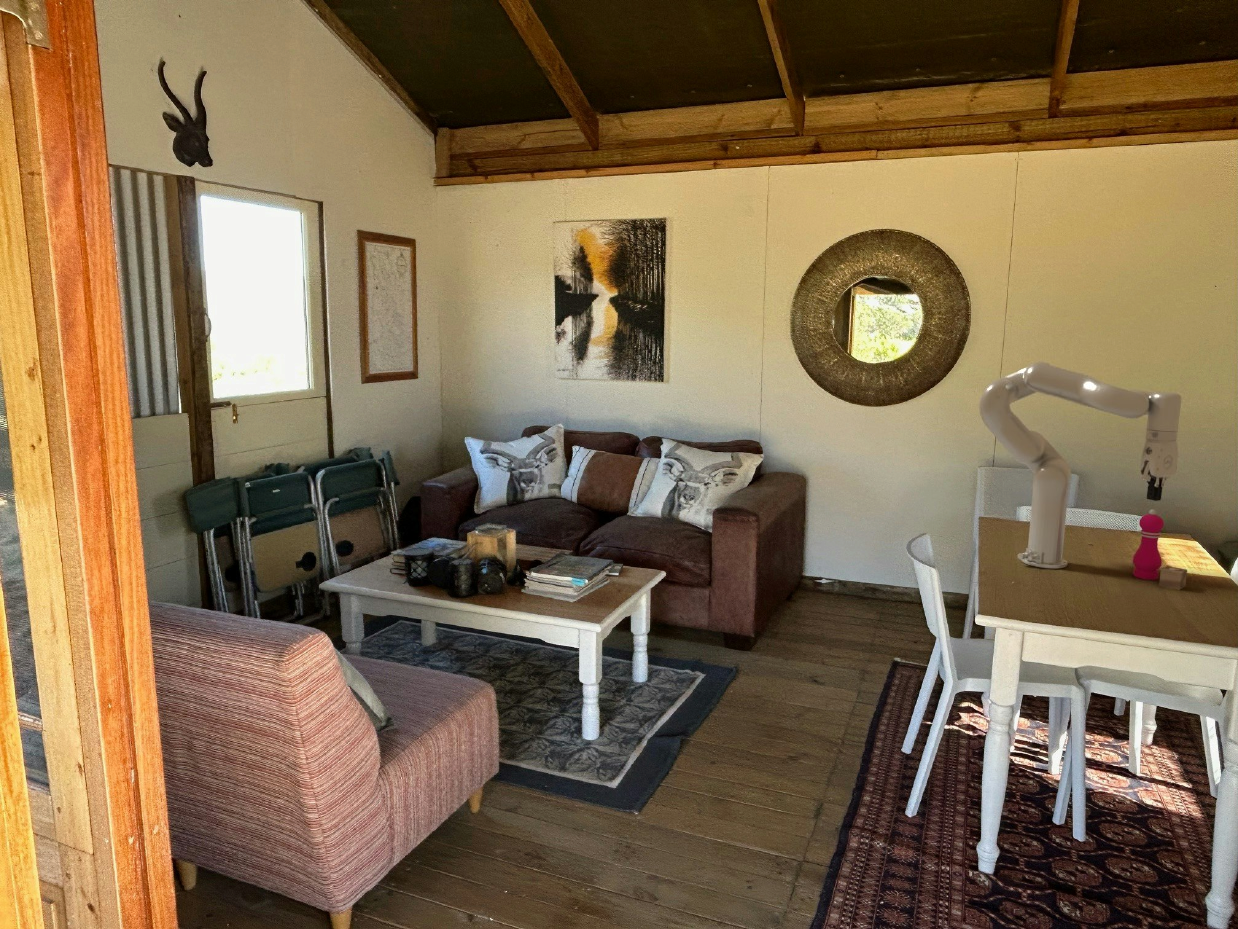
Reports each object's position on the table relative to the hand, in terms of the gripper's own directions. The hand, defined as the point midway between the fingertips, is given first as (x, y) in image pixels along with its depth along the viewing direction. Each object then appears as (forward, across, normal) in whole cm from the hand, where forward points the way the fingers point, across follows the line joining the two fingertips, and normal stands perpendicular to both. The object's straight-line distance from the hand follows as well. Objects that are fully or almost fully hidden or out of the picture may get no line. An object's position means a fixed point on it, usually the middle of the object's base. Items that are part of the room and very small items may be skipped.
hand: (1153, 499), depth 248 cm
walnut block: (+23, -2, -9) cm, 25 cm away
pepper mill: (+23, 0, 0) cm, 23 cm away
